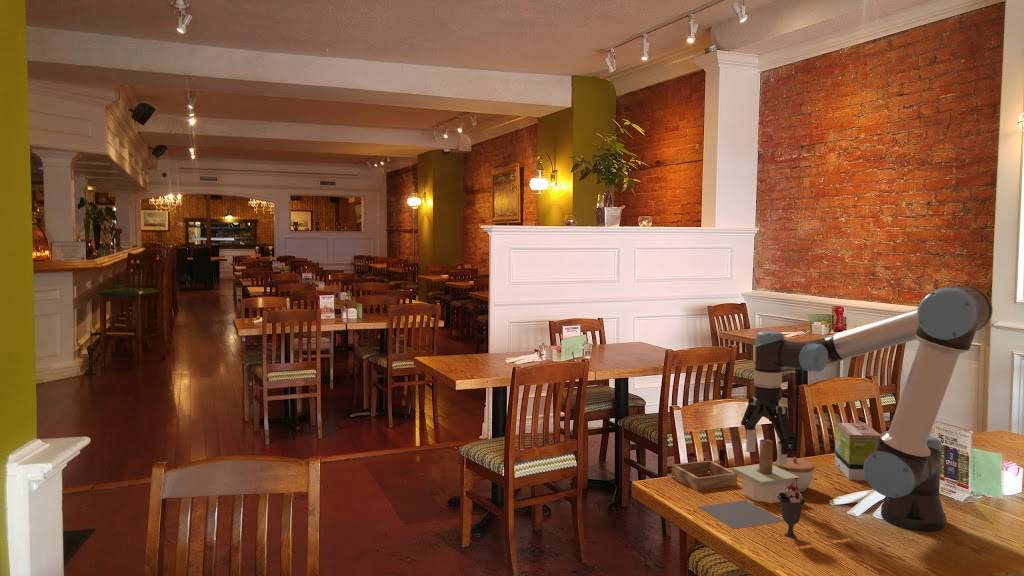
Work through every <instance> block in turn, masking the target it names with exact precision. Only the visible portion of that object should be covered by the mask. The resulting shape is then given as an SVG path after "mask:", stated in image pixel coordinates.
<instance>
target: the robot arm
mask: <svg viewBox="0 0 1024 576" xmlns="http://www.w3.org/2000/svg"><path fill="white" fill-rule="evenodd" d="M993 307H994V306H993V304H992V301H991V299H990V298H989V296H988V295H987V294H986V293H985V292H983V290H981V289H979V288H976V287H974V286H969V285H958V286H946V287H940V288H938V289H935V290H933V291H932V292H930V293H928V294H927V295H925V297H924V298H923V299H921V301H920V302H919V305H918V307H917V308H915V309H911V310H909V311H904V312H902V313H898V314H894V315H892V316H890V317H885V318H882V319H879V320H876V321H873V322H870V323H869V322H868V323H866V324H863V325H860V326H857V327H853V328H850V329H847V330H844V331H840V332H837V333H835V334H830V335H827V336H825V337H820V338H817V339H816V338H815V339H812V340H807V341H791V340H786V339H785V338H784V337H785V336H784V334H783V332H780V331H775V330H774V331H772V330H763V331H759V332H757V333H756V336H755V344H754V374H753V375H754V377H753V383H754V384H755V385H754V386H753V396H752V397H750V396H749V398H748V402H747V406H746V408H745V411H744V414H743V416H742V419H741V422H740V425H741V426H744V429H745V439H746V441H745V442H746V443H745V444H746V446H745V447H746V448H745V449H746V450H745V451H746V452H747V453H751V452H753V453H754V452H756V446H757V445H756V444H757V441H756V440H757V437H756V436H757V429H756V426H757V424H758V423H759V422H760V420H761V419H762V418H763V417H764V418H766V419H768V421H769V422H770V423H771V424H772V427H773V429H774V431H775V433H776V435H777V437H778V440H779V441H777V452H776V453H777V457H776V458H777V459H776V461H777V465H778V466H781V465H787V458H788V454H789V445H790V443H795V441H796V440H795V436H794V432H793V429H792V426H791V421H790V419H789V414H788V407H787V406H786V405H785V406H780V404H779V402H780V401H781V399H782V397H783V396H782V395H783V388H782V384H783V368H787V369H794V370H795V369H796V370H801V371H806V372H817V373H818V372H819V373H820V372H822V371H824V370H825V368H826V367H827V365H831V364H834V363H837V362H840V361H843V360H847V359H849V358H850V359H851V358H854V357H857V356H861V355H865V354H868V353H873V352H875V351H876V352H877V351H879V350H883V349H887V348H889V347H890V348H891V347H893V346H897V345H901V344H905V343H908V342H911V341H915V340H917V341H918V342H919V343H918V346H917V350H916V352H915V355H914V358H913V361H912V364H911V367H910V369H909V371H908V374H907V378H906V382H905V383H904V387H903V389H902V391H901V395H900V398H899V401H898V403H897V406H896V409H895V412H894V415H893V418H892V420H891V423H890V426H889V429H888V430H887V431H884V432H880V433H879V434H880V437H879V439H878V442H877V445H876V448H875V451H874V453H872V454H870V455H869V456H868V458H867V459H866V460H865V463H864V467H863V471H864V475H865V478H866V480H867V481H866V482H867V483H868V485H869V486H870V488H872V489H873V490H874V491H876V492H877V493H878V494H880V495H882V496H884V500H883V502H882V504H881V507H880V516H881V518H882V519H884V520H885V521H887V522H888V523H890V524H893V525H896V526H898V527H901V528H904V529H905V528H906V529H909V530H910V529H911V530H915V531H916V530H917V531H923V532H924V531H925V532H926V531H928V532H932V531H940V530H943V529H945V528H946V525H947V517H946V514H945V512H944V509H943V504H942V501H941V497H940V488H941V466H942V453H943V450H942V442H941V441H940V440H939V439H938V438H937V437H934V436H931V433H932V431H933V428H934V424H935V422H936V419H937V417H938V414H939V411H940V409H941V405H942V403H943V400H944V397H945V395H946V391H947V389H948V386H949V384H950V381H951V379H952V376H953V373H954V370H955V368H956V366H957V362H958V360H959V357H960V355H961V354H964V353H967V352H969V351H970V349H971V346H972V343H973V341H974V338H975V336H976V333H977V331H980V330H982V329H983V328H985V326H987V325H988V324H989V322H990V320H991V319H992V316H993V312H994V311H993V310H994V309H993Z"/></svg>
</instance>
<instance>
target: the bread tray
mask: <svg viewBox="0 0 1024 576" xmlns="http://www.w3.org/2000/svg"><path fill="white" fill-rule="evenodd" d="M708 471H710V472H709V473H711V474H712V475H713V476H712V475H707V476H698V475H697V474H704V475H706V474H705V473H708ZM695 475H696V476H695ZM672 476H675V477H672ZM671 479H673V480H676V481H677V482H679V483H681V484H683V485H685V486H686V487H688V488H689V489H694V490H696V491H702V490H703V491H704V490H709V489H717V488H725V487H726V488H727V487H731V486H737V485H738V474H736V473H734V472H733V470H730V469H728V468H726V467H725V466H722V465H720V464H718V463H716V462H715V461H712V460H701V461H694V462H693V461H691V462H684V463H673V464H671Z"/></svg>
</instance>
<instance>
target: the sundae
mask: <svg viewBox="0 0 1024 576" xmlns="http://www.w3.org/2000/svg"><path fill="white" fill-rule="evenodd" d="M797 479H798V478H795V481H796V486H797ZM794 483H795V482H794ZM794 483H793V484H794ZM793 484H792V485H791V484H790V485H789V486H788V487H787V488H785V490H784V491H783V492H781V493H779V496H778V499H779V500H780V502H779V503H780V507H781V508H780V509H781V516H782V520H784V522H785V523H786V524H787V525H788V526H787V527H788V528H787V529H788V530H787V532H786V533H784V537H786V538H788V539H797V537H798V536H797V535H796V534H795V533H794V526H795V525H796V524H798V523H799V521H800V520H801V516H802V511H803V505H804V504H805V503H806V501H807V499H806V498H804V497H803V494H802V493H801V492H799V491H798V490H799V488H798V487H794V486H793Z"/></svg>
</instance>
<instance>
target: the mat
mask: <svg viewBox="0 0 1024 576" xmlns="http://www.w3.org/2000/svg"><path fill="white" fill-rule="evenodd" d="M697 508H699V509H700V510H702V511H703V512H705V513H707V514H709V516H711V517H713V518H715V520H716V519H717V520H718V521H719V522H721V523H723V524H724V525H726V526H728V527H729V528H731V529H733V530H737V529H744V528H751V527H757V526H763V525H764V526H765V525H769V524H776V523H783V522H785V521H784V520H783V518H780V517H778V516H776V515H774V514H773V513H771V512H769V511H767V510H765V509H763V508H761V507H759V506H757V505H756V504H754V503H752V502H750V501H748V500H746V499H745V500H739V501H738V500H737V501H731V502H723V503H715V504H709V505H704V506H703V505H701V506H698V507H697Z"/></svg>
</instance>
